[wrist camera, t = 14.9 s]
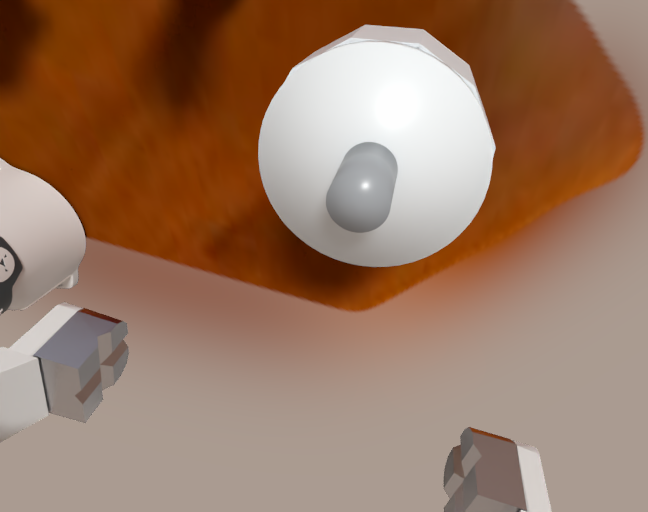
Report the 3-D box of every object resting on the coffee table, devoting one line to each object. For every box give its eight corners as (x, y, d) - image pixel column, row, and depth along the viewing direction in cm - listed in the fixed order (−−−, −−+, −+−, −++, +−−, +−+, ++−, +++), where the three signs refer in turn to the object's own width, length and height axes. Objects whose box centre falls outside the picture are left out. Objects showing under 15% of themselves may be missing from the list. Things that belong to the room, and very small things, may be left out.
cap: (338, 241, 33) (304, 333, 25) (254, 84, 28) (179, 134, 20) (508, 183, 28) (536, 273, 20) (441, -17, 24) (442, -4, 15)
